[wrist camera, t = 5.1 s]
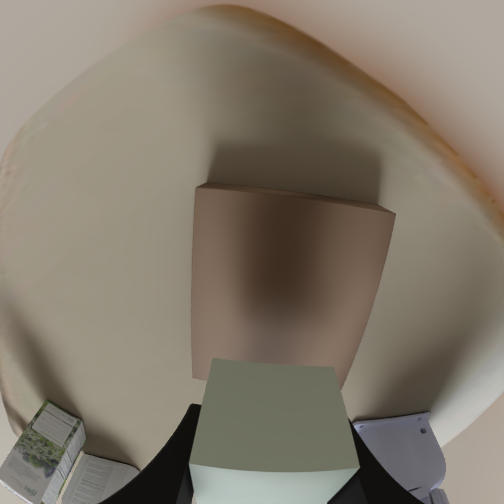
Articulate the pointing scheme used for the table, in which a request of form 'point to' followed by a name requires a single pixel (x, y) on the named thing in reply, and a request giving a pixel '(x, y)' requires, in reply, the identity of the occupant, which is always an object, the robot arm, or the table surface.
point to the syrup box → (44, 455)
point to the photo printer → (97, 480)
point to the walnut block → (283, 276)
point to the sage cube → (271, 435)
